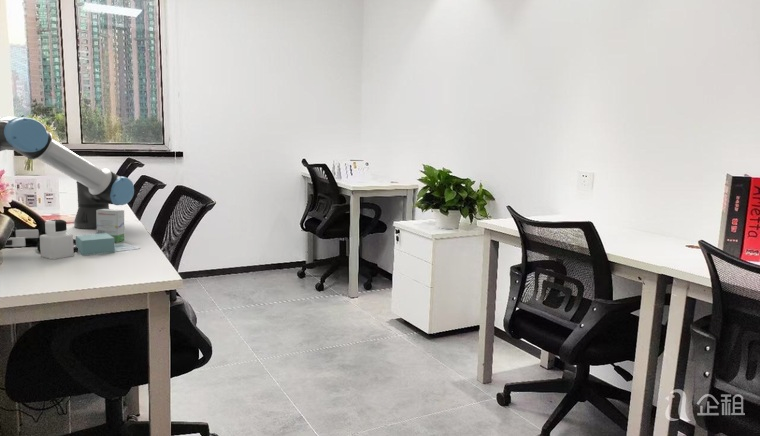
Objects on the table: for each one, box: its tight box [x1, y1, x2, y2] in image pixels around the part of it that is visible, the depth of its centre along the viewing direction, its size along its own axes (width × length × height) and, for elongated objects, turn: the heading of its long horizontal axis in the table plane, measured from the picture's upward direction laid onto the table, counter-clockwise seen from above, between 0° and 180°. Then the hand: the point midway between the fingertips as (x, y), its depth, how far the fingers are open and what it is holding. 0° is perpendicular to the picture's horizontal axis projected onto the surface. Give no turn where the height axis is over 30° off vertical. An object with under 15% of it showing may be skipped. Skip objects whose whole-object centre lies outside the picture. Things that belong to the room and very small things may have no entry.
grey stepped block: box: [39, 219, 75, 260], centre depth 185 cm, size 7×7×12 cm
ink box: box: [96, 208, 125, 243], centre depth 212 cm, size 9×5×12 cm, turn 84°
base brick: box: [75, 233, 116, 256], centre depth 195 cm, size 10×10×5 cm
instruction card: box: [114, 242, 141, 252], centre depth 202 cm, size 12×8×1 cm, turn 47°
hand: (32, 237), depth 183 cm, fingers open, 13 cm apart
